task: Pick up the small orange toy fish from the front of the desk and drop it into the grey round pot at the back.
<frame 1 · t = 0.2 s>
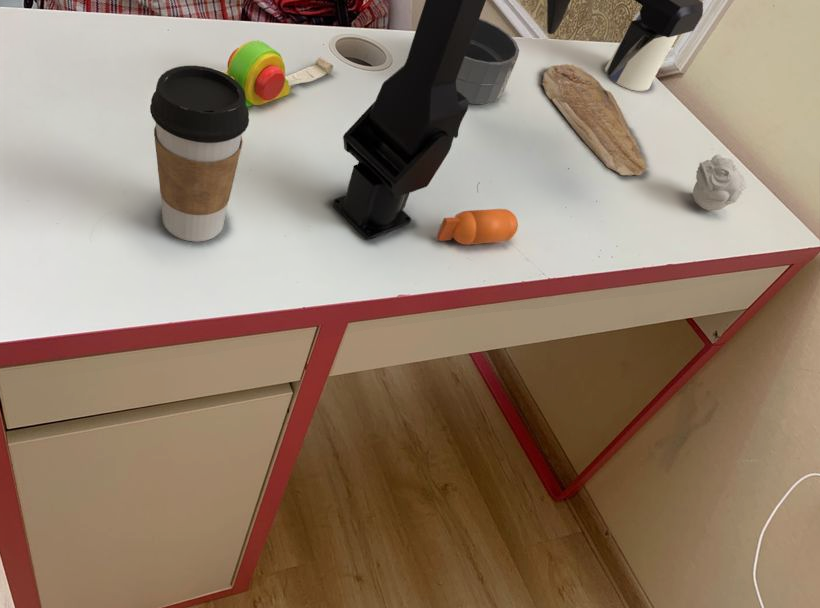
hand: (580, 53, 81), 14 cm above the table, tool pointing down, fingers open, 9 cm apart
toy measuring tape: (274, 90, 89), on the table
water bottle: (625, 77, 114), on the table
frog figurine: (700, 206, 94), on the table
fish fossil: (592, 120, 102), on the table
grey round pot: (457, 80, 101), on the table
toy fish: (478, 238, 79), on the table
coffee cup: (193, 223, 71), on the table
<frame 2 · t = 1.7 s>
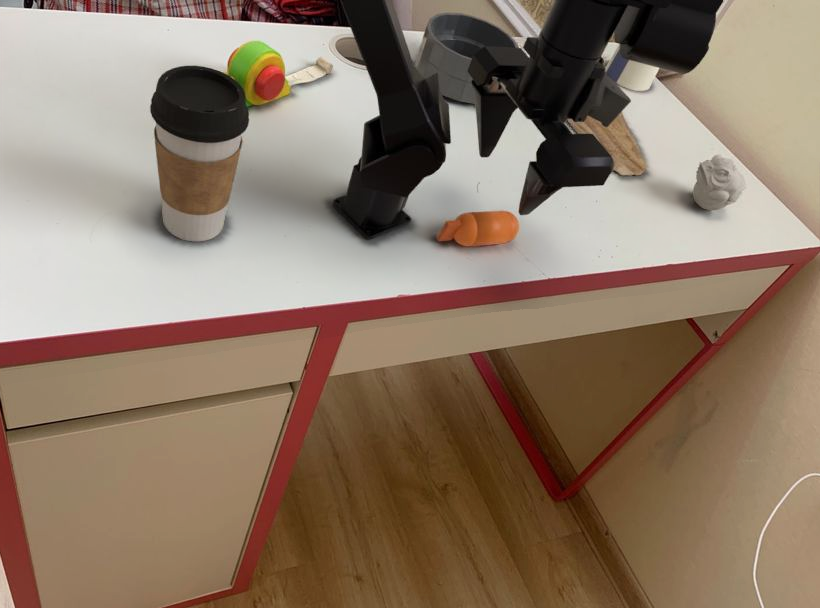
hand: (502, 184, 74), 7 cm above the table, tool pointing down, fingers open, 9 cm apart
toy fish: (478, 238, 79), on the table, tilted 10°
everything else where it was.
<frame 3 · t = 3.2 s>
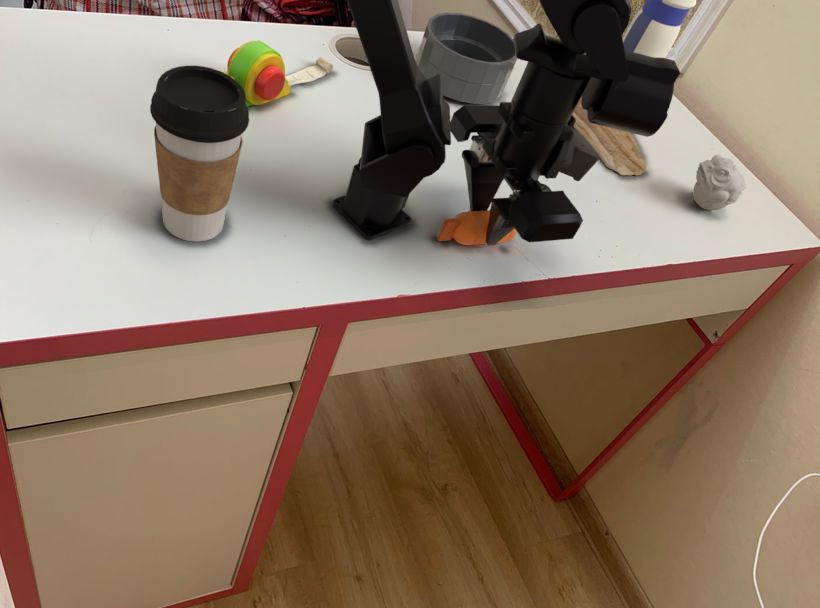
hand: (483, 232, 78), 1 cm above the table, tool pointing down, fingers closed on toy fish, 3 cm apart
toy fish: (478, 238, 79), on the table, touching gripper
everything else where it was.
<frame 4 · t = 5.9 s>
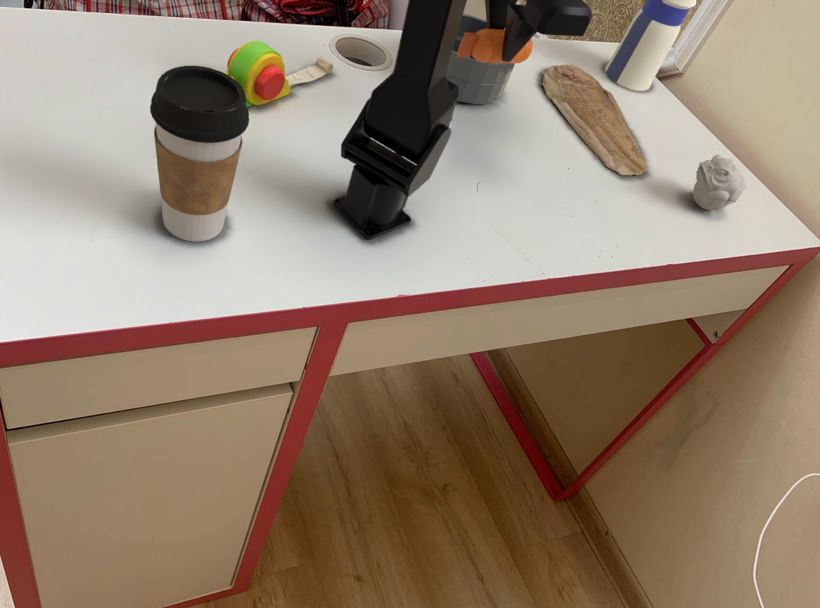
hand: (499, 52, 84), 11 cm above the table, tool pointing down, fingers closed on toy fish, 3 cm apart
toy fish: (495, 59, 85), point 10 cm above the table, touching gripper
everything else where it was.
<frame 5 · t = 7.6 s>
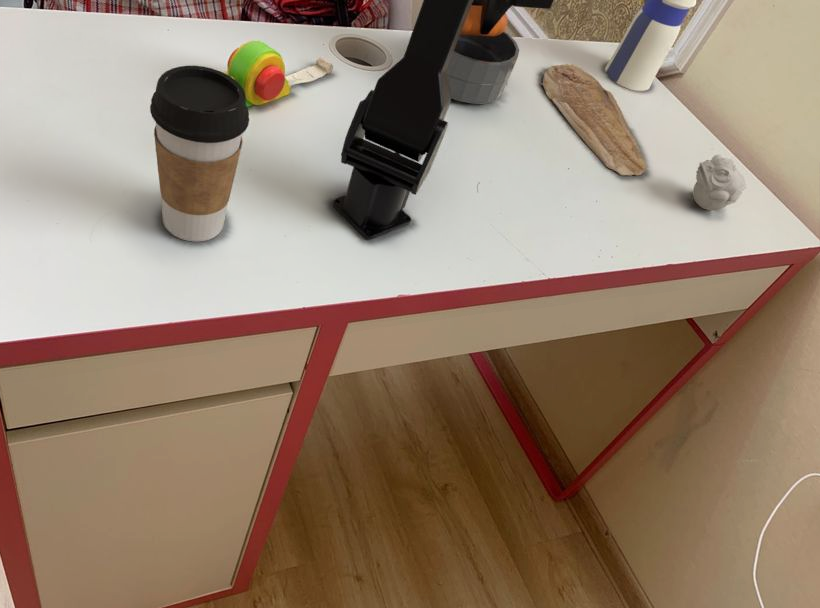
hand: (477, 26, 95), 8 cm above the table, tool pointing down, fingers closed on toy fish, 3 cm apart
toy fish: (474, 33, 95), point 7 cm above the table, touching gripper
everything else where it was.
when the fingers open (5 cm above the table, at t = 8.8 s): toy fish drops 2 cm, resting on grey round pot.
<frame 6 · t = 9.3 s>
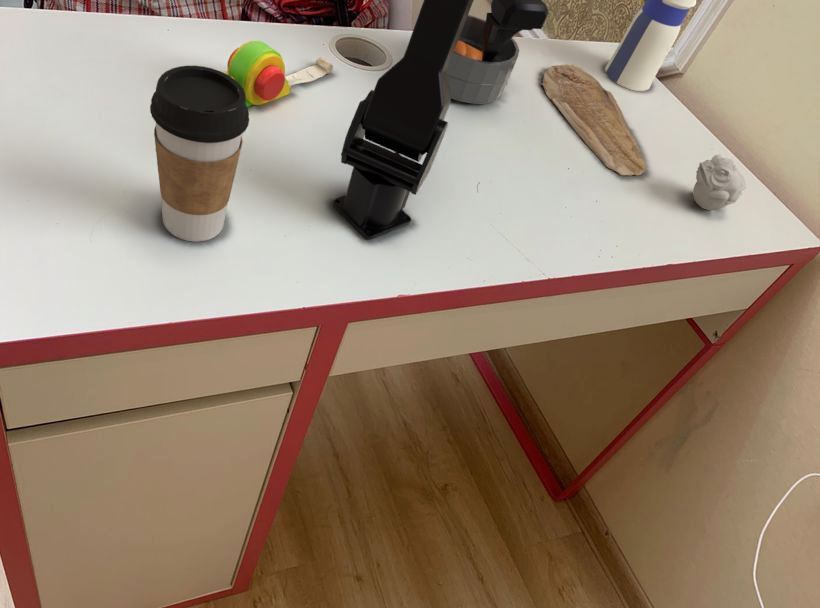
hand: (471, 44, 96), 6 cm above the table, tool pointing down, fingers open, 9 cm apart
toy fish: (459, 71, 99), point 1 cm above the table, tilted 20°, touching grey round pot
everything else where it was.
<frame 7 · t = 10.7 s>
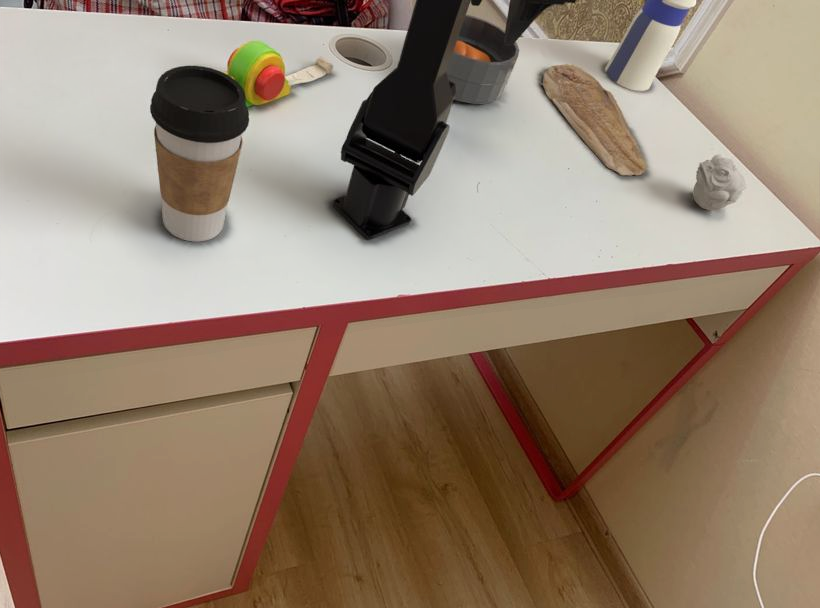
hand: (491, 24, 85), 13 cm above the table, tool pointing down, fingers open, 9 cm apart
nothing on the table moved.
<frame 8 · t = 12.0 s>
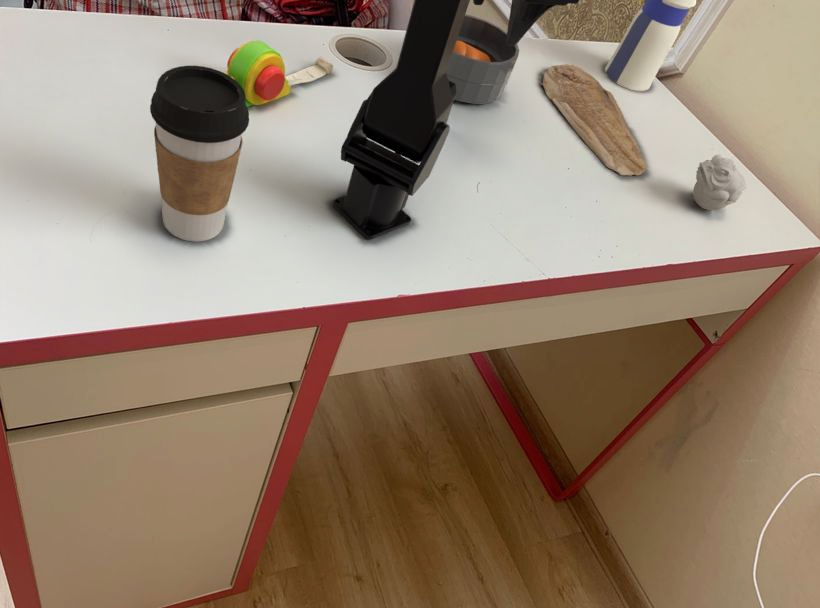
hand: (493, 24, 84), 13 cm above the table, tool pointing down, fingers open, 9 cm apart
nothing on the table moved.
at the end: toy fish inside the target area in the grey round pot (0.3 cm from its centre), point 1.5 cm above the grey round pot's base; the gripper is holding nothing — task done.
